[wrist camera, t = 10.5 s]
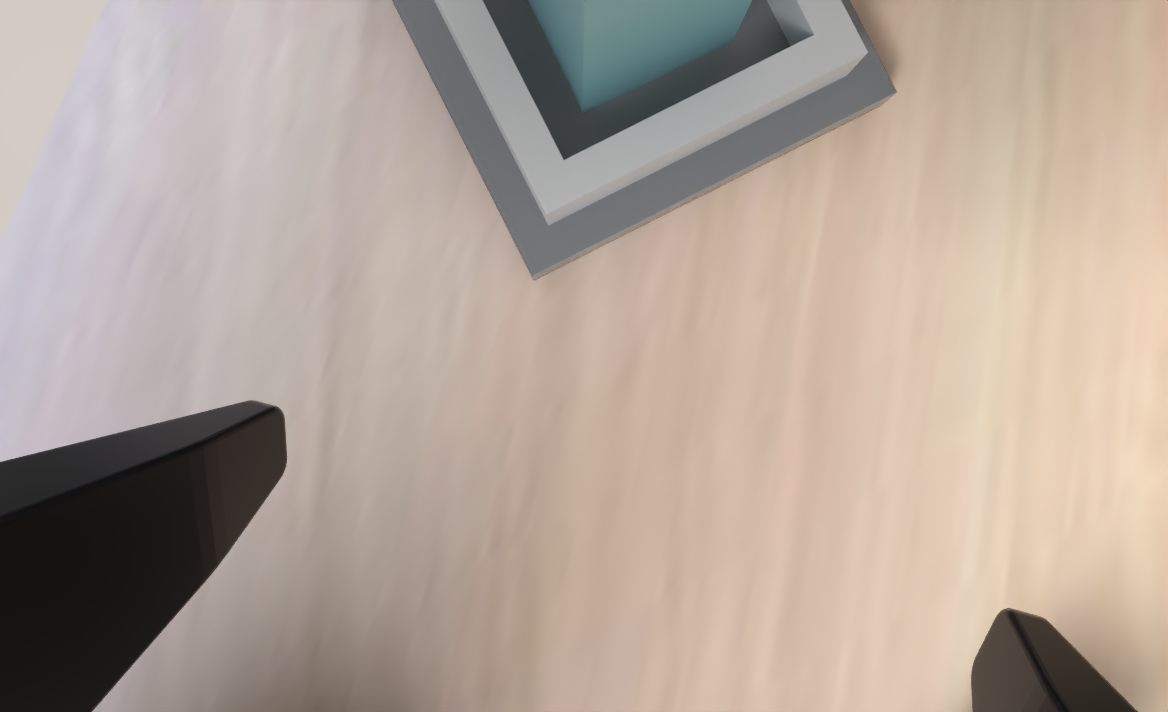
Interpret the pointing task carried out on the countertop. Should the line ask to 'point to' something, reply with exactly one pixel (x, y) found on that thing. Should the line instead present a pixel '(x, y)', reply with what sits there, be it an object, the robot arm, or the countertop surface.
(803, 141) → the seat plate
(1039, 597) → the countertop surface
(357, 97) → the countertop surface
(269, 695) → the countertop surface
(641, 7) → the block
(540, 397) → the countertop surface
